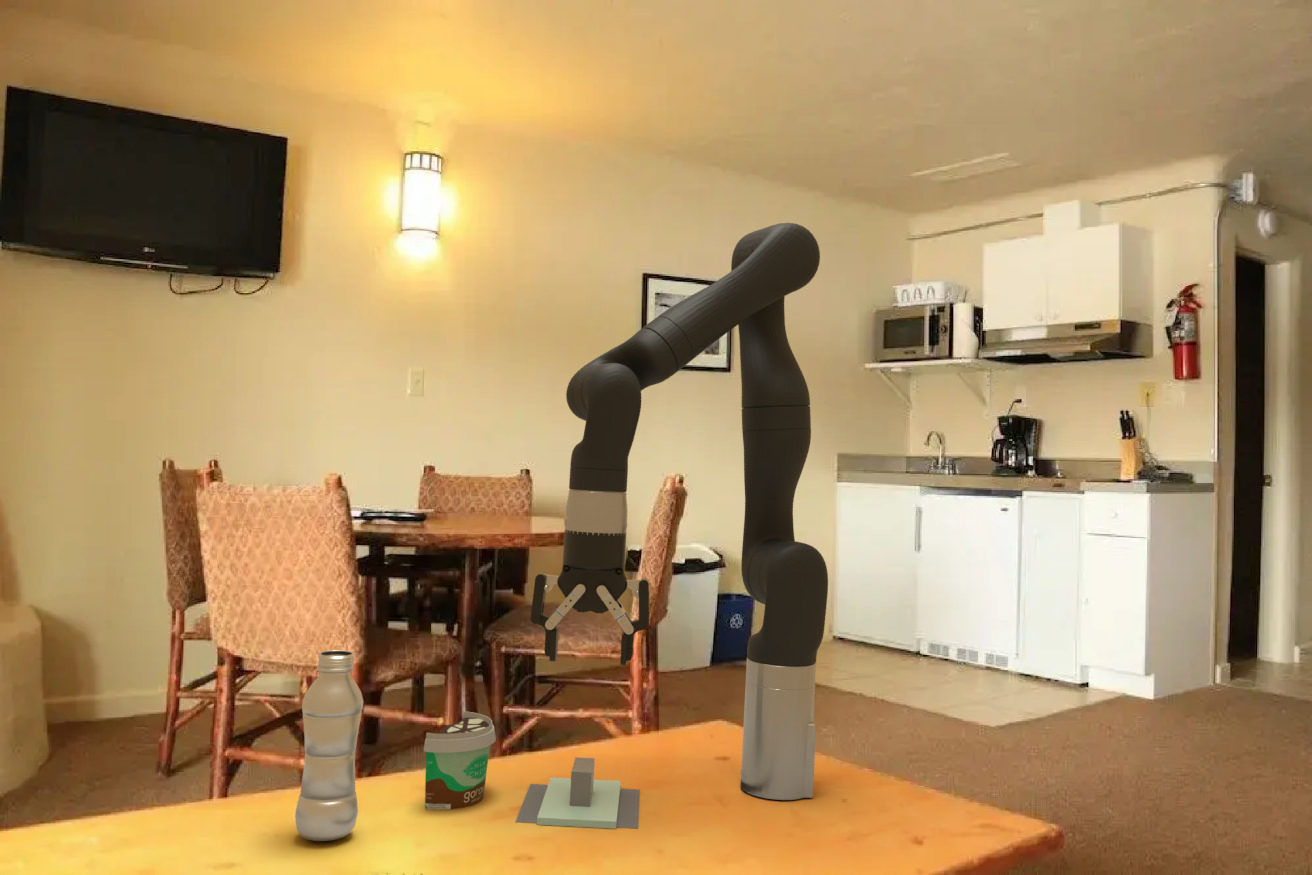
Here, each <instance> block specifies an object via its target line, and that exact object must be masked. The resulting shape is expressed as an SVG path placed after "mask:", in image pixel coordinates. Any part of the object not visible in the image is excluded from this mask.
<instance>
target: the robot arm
mask: <svg viewBox="0 0 1312 875" xmlns="http://www.w3.org/2000/svg"><path fill="white" fill-rule="evenodd" d="M731 255H732V256H731V265H730V266H731V269H730V270H731V271H730V272H729V273H727V274H725V275H724V276H722V277H721V278H719V279H718V280H716V281H715V282H713V283H711V284H710V285H708V286H706V287H705V288H703V289H701V290H699V291H697V292H695V293H693V294H692V295H690V296H688V297H687V298H684V299H682V300H681V301H679V302H678V303H676V304H674V305H672V306H671V307H670V308H668V309H666V310H664V311H663V312H662V313H660V314H659V315H658V316H656V317H655V318H654V319H653V320H651V321H650V322H649V323H647V324H646V325H644V326H643V327H642V328H640V330H638V331H637V332H636V333H635V334H633V335H632V336H631V337H630V338H628V339H627V340H626V341H624V342H623V343H620V344H619V345H617V346H615V347H613V348H611V349H610V350H608V351H606V352H604V353H603V354H601V355H598V357H596V358H594V359H593V360H591V361H590V362H587V364H585V365H584V366H582V367H581V368H580V369H578V370H577V372H575V374H573V376H572V377H571V378H570V380H569V383H568V385H567V387H566V391H565V392H566V393H565V395H566V397H565V398H566V403H567V407H568V408H569V410H570V411H571V413H572V414H573V415H574V416H575V417H576V418H578V419H580V420H582V421H585V424H584V431H583V436H582V439H581V441H580V442H578V443H577V444H575V446H574V447H573V449H572V452H571V455H570V456H571V457H570V466H569V485H568V489H569V490H568V496H567V500H566V506H565V517H564V519H563V525H564V533H563V550H562V551H563V552H562V565H561V566H562V568H561V572H560V574H559V575H555V574H554V575H553V574H547V573H546V572H543V571H542V572H540V573H537V575H536V576H535V579H534V587H533V595H532V602H531V610H530V612H531V613H530V622H531V623H532V624H534V625H539V626H540V627H542V628H544V631H545V633H544V634H545V635H544V636H545V637H544V655H545V657H549V658H548V659H549V662H556V661H557V660H558V646H559V631H560V628H558V624H559V623H560V622H561V620H562V619H563V618H564V617H565V616H566V615H567V613H568V612H569V611H570V610H571V609H573V610H574V611H576V612H577V613H587V612H593V613H595V614H604V613H607V612H608V611H609V612H610V614H611V615H612V617H613V618H614V619H615V621H616V622H617V623H618V625H619V626H620V627H621V629H622V633H621V645H620V646H621V647H620V664H619V665H620V666H627V664H628V663H627V662H628V661H630V662H631V660H632V658H633V656H634V641H635V640H634V638H635V634H636V633H637V632H641V631H645V630H647V629H649V626H650V580H649V578H647V577H642V578H640V579H627V577H626V573H625V568H626V567H625V564H626V563H625V562H626V545H627V530H628V529H627V528H628V501H627V500H628V498H627V491H628V475H629V455H630V452H631V449H632V446H633V443H634V439H635V435H636V432H637V427H638V424H639V420H640V415H641V410H642V391H643V390H645V389H646V388H648V387H651V386H653V385H657V384H660V383H663V382H665V381H666V380H668V379H669V378H671V377H672V376H674V375H675V374H676V373H678V372H679V371H681V369H683V368H684V367H685V366H687V365H688V364H689V363H690V362H692V361H693V360H694V359H695V358H697V357H698V356H699V355H700V354H702V353H703V352H704V351H705V350H707V349H708V348H709V347H710V346H712V345H713V344H714V343H716V342H717V341H718V340H719V339H720V338H722V337H723V336H725V335H726V334H727V333H729V332H730V331H731V330H732V329H734V328H735V327H737V326H738V335H739V336H738V337H739V338H738V339H739V361H740V380H741V381H740V382H741V430H742V442H743V443H742V444H743V475H744V476H743V479H744V484H743V485H744V518H743V519H744V521H743V534H742V546H741V547H742V549H741V566H740V567H741V570H740V571H741V577H742V583H743V585H744V588H745V590H746V592H747V593H748V594H749V596H750V598H752V599H754V601H756V602H758V603H760V604H763V605H764V611H763V620H762V626H761V628H760V629H759V631H758V632H757V633H754V634H752V635H751V636H750V637H749V639H748V641H747V648H746V650H747V651H746V669H745V687H744V688H745V689H744V690H745V691H744V708H743V711H744V712H743V729H742V746H741V747H742V750H741V768H740V789H741V790H742V791H744V792H745V793H747V794H749V795H752V796H755V797H758V798H764V799H766V800H767V799H770V800H777V801H778V800H779V801H780V800H781V801H791V800H792V801H793V800H800V799H803V798H804V799H805V798H807V799H809V798H810V799H812V798H813V797H814V782H815V781H814V780H815V777H814V776H815V758H816V756H815V755H816V735H817V734H816V733H817V724H816V723H815V721H814V715H815V714H814V712H815V694H816V693H815V692H816V671H817V670H816V669H817V668H816V667H817V654H818V651H819V648H820V646H821V644H822V641H823V639H824V634H825V624H826V614H827V604H828V595H829V594H828V593H829V592H828V591H829V574H828V569H827V567H828V566H827V564H826V560H825V558H824V557H823V555H822V553H821V552H820V550H818V549H817V548H816V547H814V546H813V545H811V544H807V543H805V542H801V541H796V540H795V532H794V530H795V529H794V502H795V501H794V500H795V494H796V489H797V486H798V483H799V481H800V478H801V474H802V472H803V469H804V467H805V464H806V462H807V458H808V455H809V454H808V453H809V452H810V447H811V440H812V438H811V437H812V436H811V435H812V428H811V427H812V424H811V423H812V422H811V419H812V418H811V406H810V405H811V400H810V399H811V397H810V391H809V387H808V383H807V382H806V379H805V376H804V374H803V371H802V369H801V367H800V364H799V363H798V361H797V359H796V357H795V355H794V353H793V350H792V348H791V346H790V343H789V339H788V336H787V331H786V330H787V329H786V318H785V298H786V296H788V295H790V294H792V293H794V292H796V291H799V290H800V289H802V288H804V287H806V286H807V285H808V284H810V282H811V281H813V279H814V277H815V276H816V274H817V272H818V269H819V265H820V260H821V253H820V246H819V244H818V240H817V239H816V238H815V236H814V235H813V233H812V232H811V231H810V229H808V228H806V226H805V227H804V226H803V225H800V224H798V223H795V222H794V223H793V222H783V223H776V224H773V225H769V226H766V227H763V228H760V229H757V230H754V231H752V232H749V233H747V234H745V235H744V236H743V237H741V238H740V240H738V242H737V243H736V245H735V246H734V249H733V252H732V254H731ZM554 585H557V586H558V588H559V590H560V591H561V594H563V596H564V597H565V599H564V600H563V601H562V602H561V603H560V605H559V606H558V607H557V608H556V609H555V611H554V612H553V613H552V614H551V615H549V614H545V613H544V612H545V604H546V597H547V596H546V594H547V593H550V592H551V591H552V589H553V586H554ZM627 589H629V590H630V591H631V593H632V596H633V597H634V598H638V619H635V620H632V619H631V617H630V616H629V615H628V613H627V611H626V609H625V607H624V606H623V604H622V603H621V602H620V600H619V599H620V598H621V597H622V596H623V594H624V593H625V592H626V590H627Z"/></svg>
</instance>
